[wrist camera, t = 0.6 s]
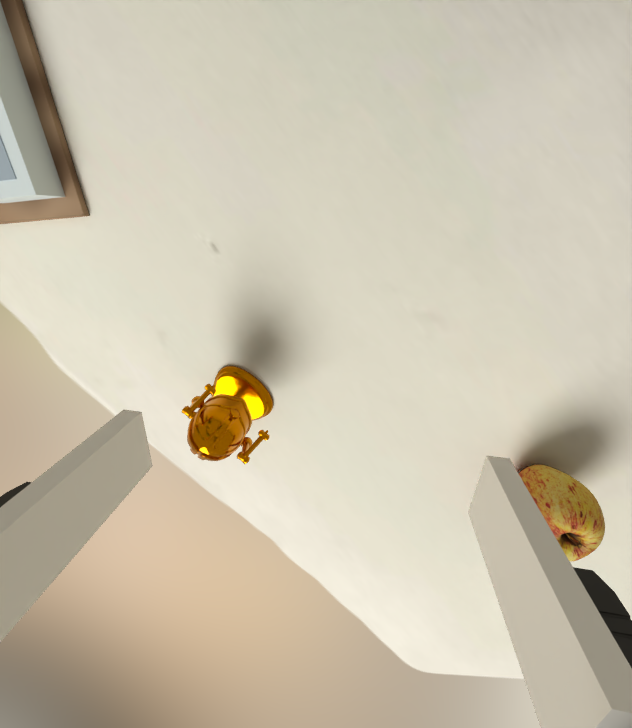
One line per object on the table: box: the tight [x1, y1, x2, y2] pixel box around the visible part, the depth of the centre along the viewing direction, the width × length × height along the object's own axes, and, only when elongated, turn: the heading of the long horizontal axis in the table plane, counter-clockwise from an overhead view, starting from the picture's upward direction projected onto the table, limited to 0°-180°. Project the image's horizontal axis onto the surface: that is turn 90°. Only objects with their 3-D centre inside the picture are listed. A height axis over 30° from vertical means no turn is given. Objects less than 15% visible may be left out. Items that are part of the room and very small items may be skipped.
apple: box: [518, 464, 605, 561], centre depth 38 cm, size 9×9×10 cm
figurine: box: [182, 366, 273, 464], centre depth 39 cm, size 8×11×12 cm
